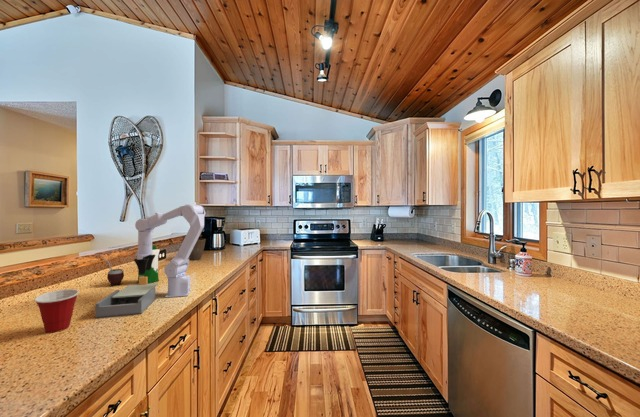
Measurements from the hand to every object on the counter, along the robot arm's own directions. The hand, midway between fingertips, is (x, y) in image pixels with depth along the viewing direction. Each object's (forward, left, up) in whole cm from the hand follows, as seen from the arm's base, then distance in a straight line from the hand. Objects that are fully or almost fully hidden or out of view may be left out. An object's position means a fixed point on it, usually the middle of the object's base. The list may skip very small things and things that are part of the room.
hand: (145, 271), depth 127 cm
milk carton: (+5, -21, -11) cm, 24 cm away
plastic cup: (+15, +35, -11) cm, 40 cm away
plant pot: (-9, -84, -11) cm, 85 cm away
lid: (0, +10, -6) cm, 12 cm away
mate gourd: (+20, -19, -11) cm, 30 cm away
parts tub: (0, +20, -10) cm, 22 cm away
